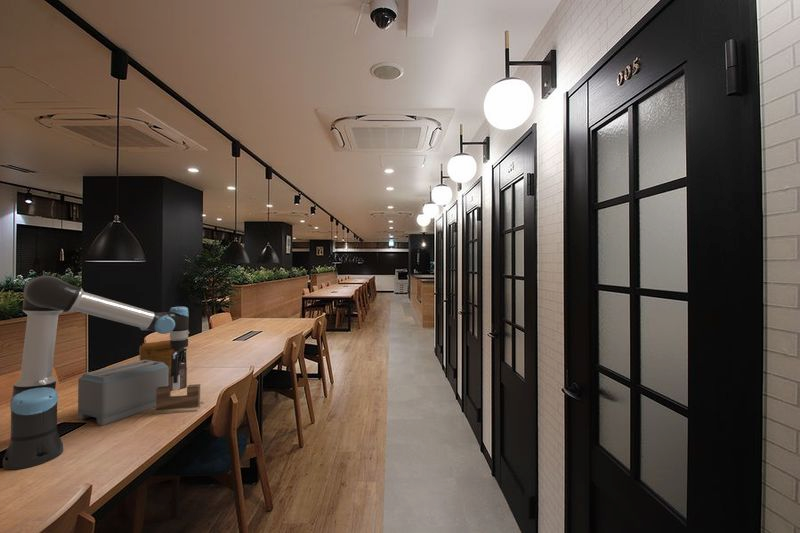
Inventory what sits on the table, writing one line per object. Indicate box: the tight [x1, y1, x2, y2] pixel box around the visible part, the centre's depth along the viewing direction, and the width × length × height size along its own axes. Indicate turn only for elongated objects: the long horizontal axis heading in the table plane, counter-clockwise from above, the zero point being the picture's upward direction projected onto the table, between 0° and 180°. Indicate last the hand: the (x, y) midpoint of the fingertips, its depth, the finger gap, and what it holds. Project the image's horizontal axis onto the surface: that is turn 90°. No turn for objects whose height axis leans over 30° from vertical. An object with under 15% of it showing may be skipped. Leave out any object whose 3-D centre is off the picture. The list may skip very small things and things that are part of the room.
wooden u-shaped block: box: [151, 383, 204, 416], centre depth 174 cm, size 10×19×11 cm, turn 104°
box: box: [171, 362, 188, 391], centre depth 174 cm, size 6×4×12 cm
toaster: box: [77, 360, 169, 427], centre depth 173 cm, size 19×33×20 cm, turn 158°
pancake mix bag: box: [138, 339, 174, 392], centre depth 197 cm, size 7×19×28 cm, turn 122°
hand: (178, 386), depth 174 cm, fingers closed on box, 7 cm apart
